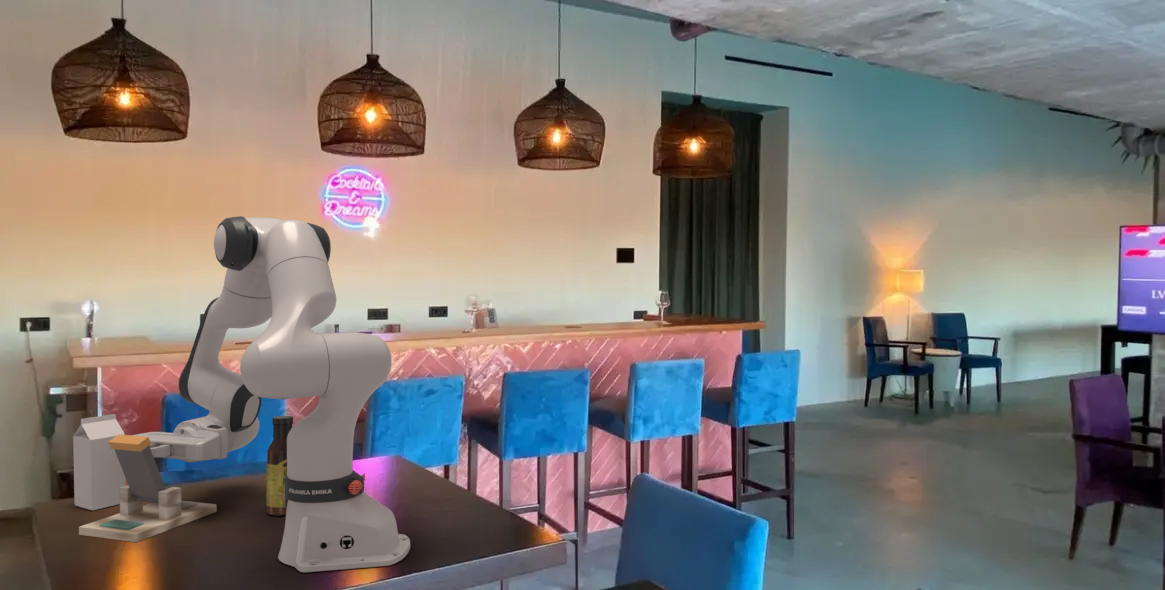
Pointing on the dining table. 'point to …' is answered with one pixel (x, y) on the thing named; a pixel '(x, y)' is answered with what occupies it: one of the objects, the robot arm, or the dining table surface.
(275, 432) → the sauce bottle
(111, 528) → the switch base
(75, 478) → the milk carton
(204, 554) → the dining table surface
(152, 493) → the rocker lever
